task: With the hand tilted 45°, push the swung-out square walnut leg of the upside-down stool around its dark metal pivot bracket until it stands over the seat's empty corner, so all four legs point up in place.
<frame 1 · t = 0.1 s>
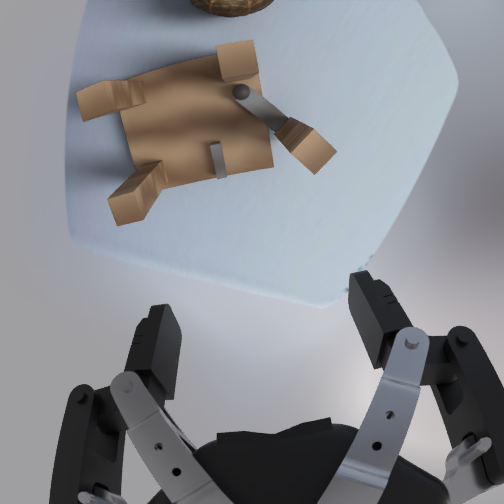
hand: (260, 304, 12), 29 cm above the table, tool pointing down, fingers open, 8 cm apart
stool: (194, 119, 34), on the table
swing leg: (273, 117, 27), point 8 cm above the table, hinge at 40.0°
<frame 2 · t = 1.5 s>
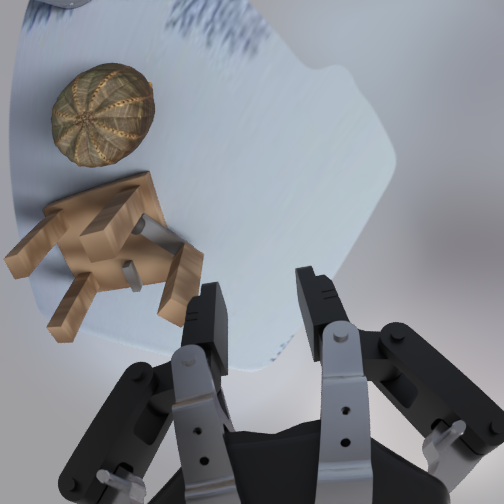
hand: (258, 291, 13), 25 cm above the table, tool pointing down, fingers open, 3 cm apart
stool: (111, 237, 39), on the table
shell: (125, 108, 30), on the table
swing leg: (156, 262, 32), point 8 cm above the table, hinge at 40.0°
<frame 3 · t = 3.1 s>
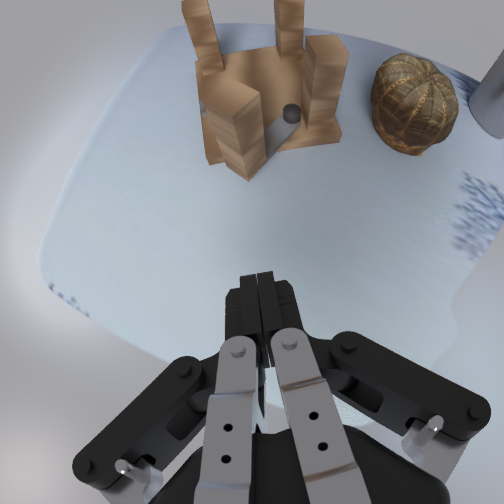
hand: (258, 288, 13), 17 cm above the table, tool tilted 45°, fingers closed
stool: (261, 98, 35), on the table
shell: (396, 131, 32), on the table
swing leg: (266, 112, 25), point 8 cm above the table, hinge at 40.0°
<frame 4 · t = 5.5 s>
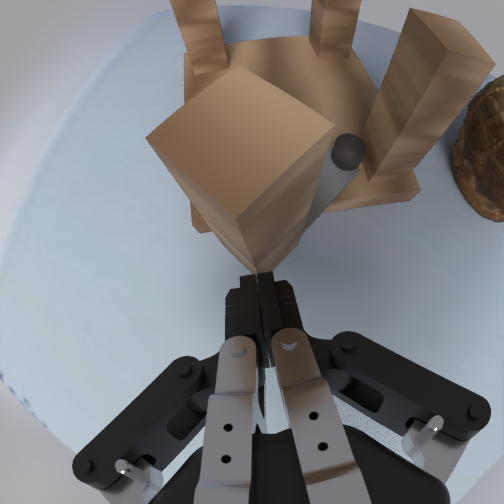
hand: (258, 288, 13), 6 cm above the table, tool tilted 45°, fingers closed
stool: (286, 114, 22), on the table
shell: (478, 183, 20), on the table
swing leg: (314, 157, 12), point 8 cm above the table, hinge at 36.9°, touching gripper
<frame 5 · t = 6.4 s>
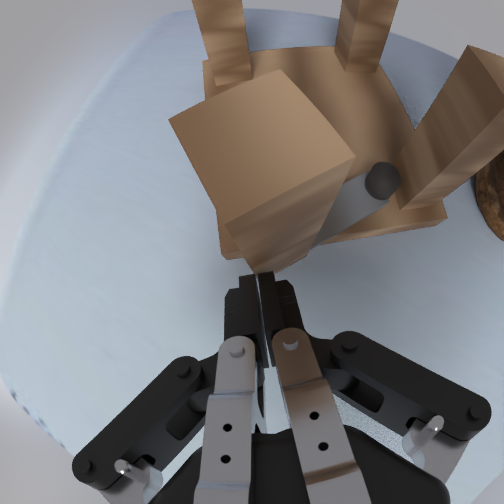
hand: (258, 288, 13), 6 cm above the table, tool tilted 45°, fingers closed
stool: (313, 132, 21), on the table
shell: (497, 204, 19), on the table
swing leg: (343, 177, 12), point 8 cm above the table, hinge at 20.1°, touching gripper
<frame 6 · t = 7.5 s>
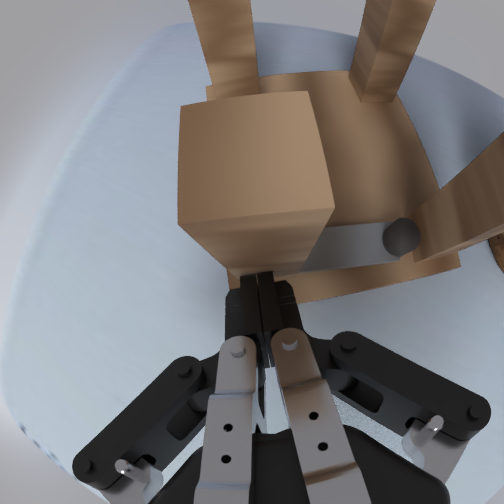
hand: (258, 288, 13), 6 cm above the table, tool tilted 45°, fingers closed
stool: (326, 172, 20), on the table
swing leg: (354, 219, 11), point 8 cm above the table, hinge at -3.7°, touching gripper
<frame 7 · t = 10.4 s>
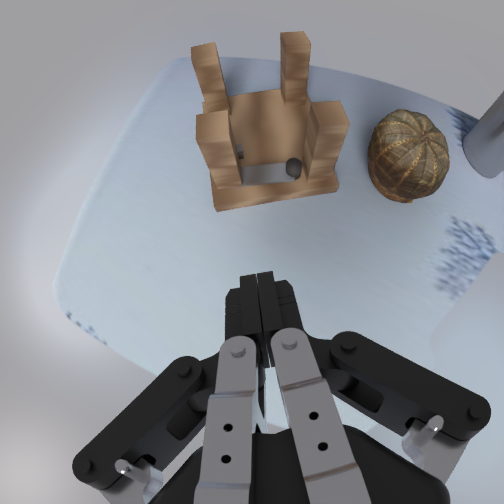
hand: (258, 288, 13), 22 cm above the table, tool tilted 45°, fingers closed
stool: (265, 144, 39), on the table
shell: (390, 178, 37), on the table
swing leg: (256, 151, 30), point 8 cm above the table, hinge at -4.5°
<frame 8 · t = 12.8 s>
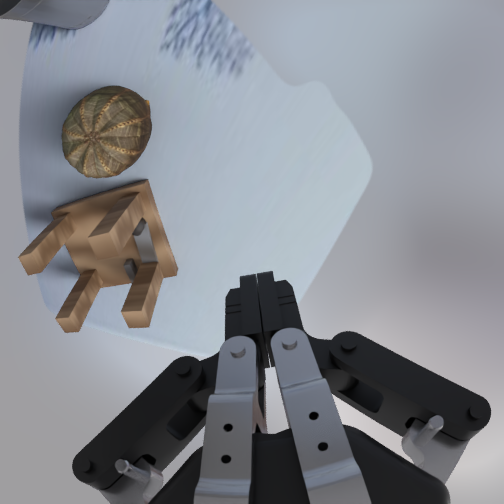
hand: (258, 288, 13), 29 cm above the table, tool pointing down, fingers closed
stool: (114, 237, 43), on the table
shell: (126, 123, 34), on the table
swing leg: (136, 269, 37), point 8 cm above the table, hinge at -4.5°
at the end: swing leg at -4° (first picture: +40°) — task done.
